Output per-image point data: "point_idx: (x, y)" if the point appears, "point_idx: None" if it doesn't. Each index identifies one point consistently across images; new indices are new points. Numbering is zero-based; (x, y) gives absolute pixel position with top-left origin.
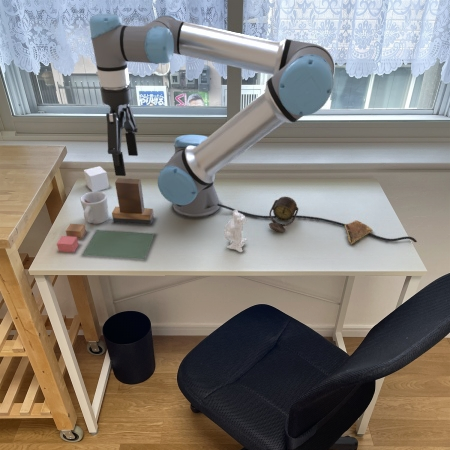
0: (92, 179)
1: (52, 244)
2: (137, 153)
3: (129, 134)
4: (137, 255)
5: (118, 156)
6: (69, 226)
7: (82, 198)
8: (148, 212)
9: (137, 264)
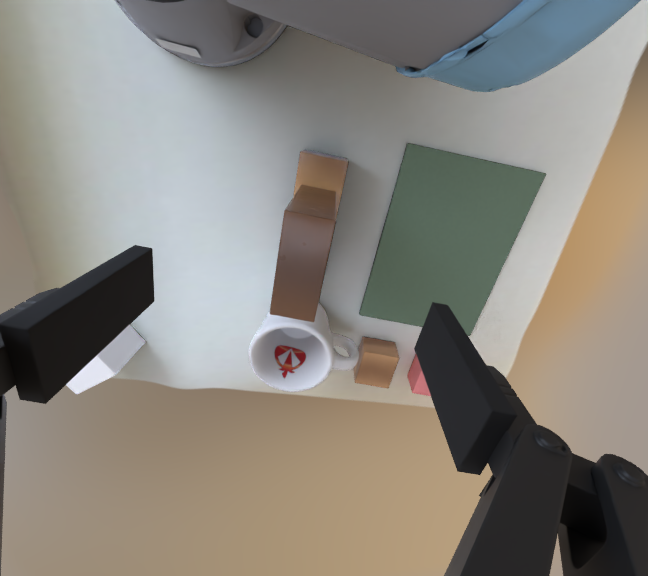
0: (119, 362)
1: (401, 396)
2: (134, 250)
3: (42, 368)
4: (520, 196)
5: (530, 421)
6: (369, 383)
7: (291, 385)
8: (328, 167)
9: (558, 194)
